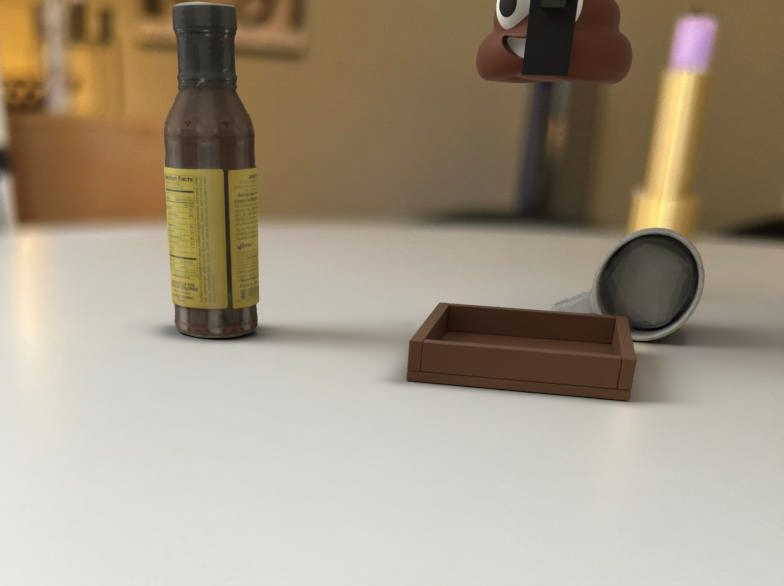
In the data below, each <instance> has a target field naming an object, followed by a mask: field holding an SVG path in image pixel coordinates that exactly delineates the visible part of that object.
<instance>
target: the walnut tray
mask: <svg viewBox="0 0 784 586" xmlns="http://www.w3.org/2000/svg"><path fill="white" fill-rule="evenodd" d="M407 354H408V355H407V368H406V370H407V371H406V379H405V380H406V381H408V382H417V383H418V382H419V383H427V384H428V383H429V384H440V385H451V386H453V385H454V386H462V387H471V388H472V387H473V388H485V389H496V390H505V391H517V392H527V393H529V392H530V393H538V394H539V393H540V394H551V395H560V396H561V395H562V396H572V397H583V398H594V399H605V400H606V399H607V400H616V401H630V399H631V393H632V387H633V382H634V377H635V372H636V366H637V361H638V360H637V356H636V352H635V346H634V340H632V336H631V331H630V327H629V322H628V317H626V316H614V315H600V314H587V313H574V312H560V311H551V310H548V309H547V310H546V309H545V310H544V309H531V308H519V307H505V306H492V305H480V304H479V305H478V304H467V303H466V304H464V303H452V302H439V303H438V304H437V305H436V306H435V308H433V310H432V311H431V313H430V314H429V315H428V316H427V318H426V319H425V320H424V321H423V323H422V324H421V325H420V326H419V328H418V329H417V331H416V332H415V333H414V334H413V335H412V337H411V338H410V339H409V341H408V353H407Z"/></svg>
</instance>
